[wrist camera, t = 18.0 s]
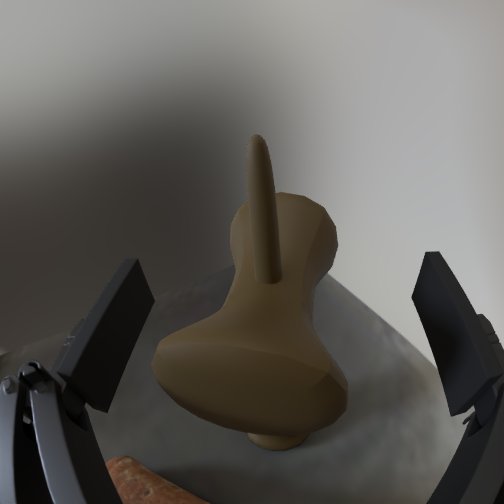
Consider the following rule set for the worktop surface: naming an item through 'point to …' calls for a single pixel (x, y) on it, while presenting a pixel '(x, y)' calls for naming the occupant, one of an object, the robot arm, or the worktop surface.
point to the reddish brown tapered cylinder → (145, 484)
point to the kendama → (263, 324)
